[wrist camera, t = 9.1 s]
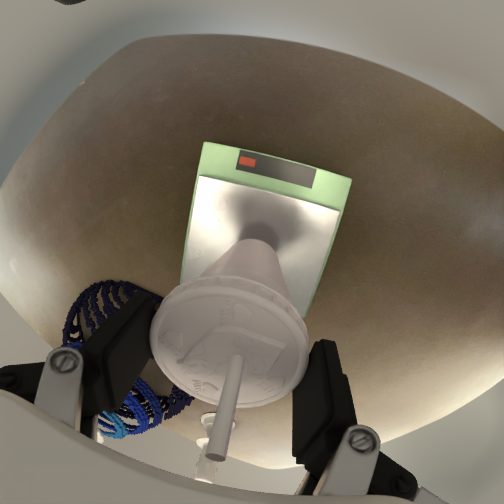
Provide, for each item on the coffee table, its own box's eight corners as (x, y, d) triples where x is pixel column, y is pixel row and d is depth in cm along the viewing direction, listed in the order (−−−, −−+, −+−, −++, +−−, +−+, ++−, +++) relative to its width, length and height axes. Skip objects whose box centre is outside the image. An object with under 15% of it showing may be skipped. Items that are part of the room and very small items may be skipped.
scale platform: (201, 174, 20) (198, 174, 20) (339, 209, 20) (341, 211, 19) (183, 282, 24) (180, 286, 23) (303, 313, 23) (303, 317, 23)
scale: (213, 142, 23) (202, 140, 19) (344, 176, 22) (354, 179, 19) (188, 273, 27) (177, 288, 24) (303, 302, 27) (305, 321, 24)
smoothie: (310, 289, 19) (336, 483, 6) (228, 314, 20) (171, 487, 7) (279, 204, 17) (268, 359, 4) (191, 238, 19) (54, 383, 5)
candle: (195, 420, 36) (176, 481, 25) (210, 407, 34) (191, 475, 23) (224, 433, 37) (211, 493, 25) (241, 421, 35) (230, 488, 24)
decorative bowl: (190, 414, 36) (165, 490, 22) (81, 361, 35) (35, 418, 22) (228, 324, 29) (194, 434, 15) (78, 256, 28) (-5, 313, 15)
